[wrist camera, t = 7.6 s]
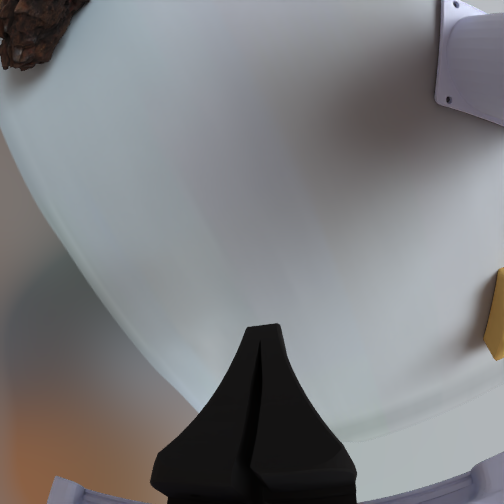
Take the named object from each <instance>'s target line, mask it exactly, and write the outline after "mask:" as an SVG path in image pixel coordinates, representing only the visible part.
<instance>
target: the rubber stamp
mask: <svg viewBox="0 0 504 504" xmlns="http://www.w3.org/2000/svg"><path fill="white" fill-rule="evenodd" d="M483 340H484V341H485V343H486V345H487V347H488V349H489V350H490V352H491V354H492V356H493V358H494V359H495V360H496V361H497V360H500V359H502V358H504V267H503V268H500V269H499V271H498V275H497V281H496V287H495V292H494V297H493V302H492V306H491V311H490V315H489V319H488V323H487V327H486V331H485V335H484V338H483Z"/></svg>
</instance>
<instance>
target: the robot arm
mask: <svg viewBox="0 0 504 504" xmlns="http://www.w3.org/2000/svg"><path fill="white" fill-rule="evenodd" d="M453 2H454V3H455V4H456V8H455V7H454V5H453ZM434 97H435V101H436V102H437V104H439V105H442V106H446V107H449V108H452V109H456V110H459V111H462V112H465V113H468V114H471V115H474V116H477V117H480V118H482V119H485V120H488V121H491V122H493V123H496V124H498V125H501V126H504V13H493V14H487V13H486V12H484V11H482V10H480V9H478V8H475V7H473V6H471V5H469V4H467V3H465V2H463V1H460V0H441V26H440V45H439V58H438V69H437V79H436V87H435V95H434ZM447 97H449V99H450V101H449V102H448V103H447V102H446V98H447ZM356 477H357V471H356V468H355V465H354V463H353V461H352V459H351V458H350V456H349V454H348V453H347V451H346V449H345V447H344V445H343V444H342V443H341V442H340V441H339V440H338V438H337V437H336V436H335V435H334V434H333V433H332V431H331V430H330V429H329V428H328V426H327V425H326V424H325V422H324V421H323V420H322V418H321V417H320V415H319V414H318V413H317V411H316V410H315V408H314V407H313V405H312V404H311V402H310V401H309V399H308V397H307V396H306V394H305V392H304V391H303V389H302V387H301V385H300V383H299V381H298V380H297V377H296V375H295V373H294V371H293V369H292V367H291V365H290V362H289V359H288V357H287V353H286V348H285V344H284V339H283V335H282V330H281V326H280V325H279V324H278V323H275V324H268V325H260V326H252V327H247V328H246V330H245V333H244V336H243V338H242V341H241V343H240V346H239V348H238V350H237V353H236V355H235V357H234V359H233V361H232V363H231V365H230V367H229V369H228V371H227V373H226V375H225V376H224V378H223V380H222V382H221V383H220V385H219V387H218V388H217V390H216V391H215V393H214V394H213V396H212V397H211V399H210V400H209V401H208V403H207V404H206V405H205V407H204V408H203V409H202V410H201V412H200V413H199V414H198V415H197V417H196V418H195V419H194V420H193V421H192V422H191V423H190V424H189V426H188V427H187V428H186V429H185V430H184V431H183V432H182V433H181V434H180V435H179V436H178V437H177V438H175V439H174V440H173V441H172V442H171V443H170V444H169V445H167V446H166V447H165V448H164V449H163V450H162V451H160V452H159V453H158V455H157V457H156V460H155V463H154V466H153V470H152V475H151V480H150V483H151V485H152V486H153V487H154V488H155V489H156V490H158V491H160V492H161V493H163V494H164V495H166V496H167V497H168V501H167V504H504V452H502V453H500V454H497V455H495V456H493V457H491V458H489V459H486V460H484V461H482V462H480V463H478V464H477V465H475V466H474V467H473V468H472V469H471V471H469V472H466V473H464V474H461V475H458V476H456V477H453V478H450V479H447V480H445V481H442V482H438V483H435V484H433V485H429V486H426V487H423V488H419V489H416V490H412V491H409V492H405V493H401V494H397V495H393V496H389V497H385V498H381V499H376V500H371V501H365V502H360V503H357V501H356V485H355V481H356ZM47 504H149V503H143V502H139V501H133V500H129V499H123V498H119V497H115V496H111V495H107V494H103V493H99V492H95V491H92V490H88V489H85V488H84V487H83V486H81V485H79V484H77V483H75V482H73V481H70V480H67V479H64V478H61V477H58V476H56V477H55V479H54V482H53V485H52V488H51V491H50V494H49V497H48V501H47Z"/></svg>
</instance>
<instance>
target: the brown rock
mask: <svg viewBox="0 0 504 504" xmlns="http://www.w3.org/2000/svg"><path fill="white" fill-rule="evenodd" d="M89 1H90V0H2V2H1V4H0V6H1V10H0V37H1V38H3V40H2V44H1V45H0V56H1V62H2V67H3V69H4V70H6V69H8V67H9V66H10V67H14V68H20V69H21V71H25V70H27V69H29V68H33V67H34V66H35V64H42V63H45V62H48V61H49V60H50V59H51V56H52V53H53V50H54V48H55V46H56V45H57V44H58V43H59V40H60V39H61V37H62V36H63V35H64V33H65V32H66V30H67V27H68V26H69V24H70V20H71V17H72V15H73V14H74V12H75V11H76V10H78V9H79V8H80V7H82V6H83V4H84V3H85V2H89Z"/></svg>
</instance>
